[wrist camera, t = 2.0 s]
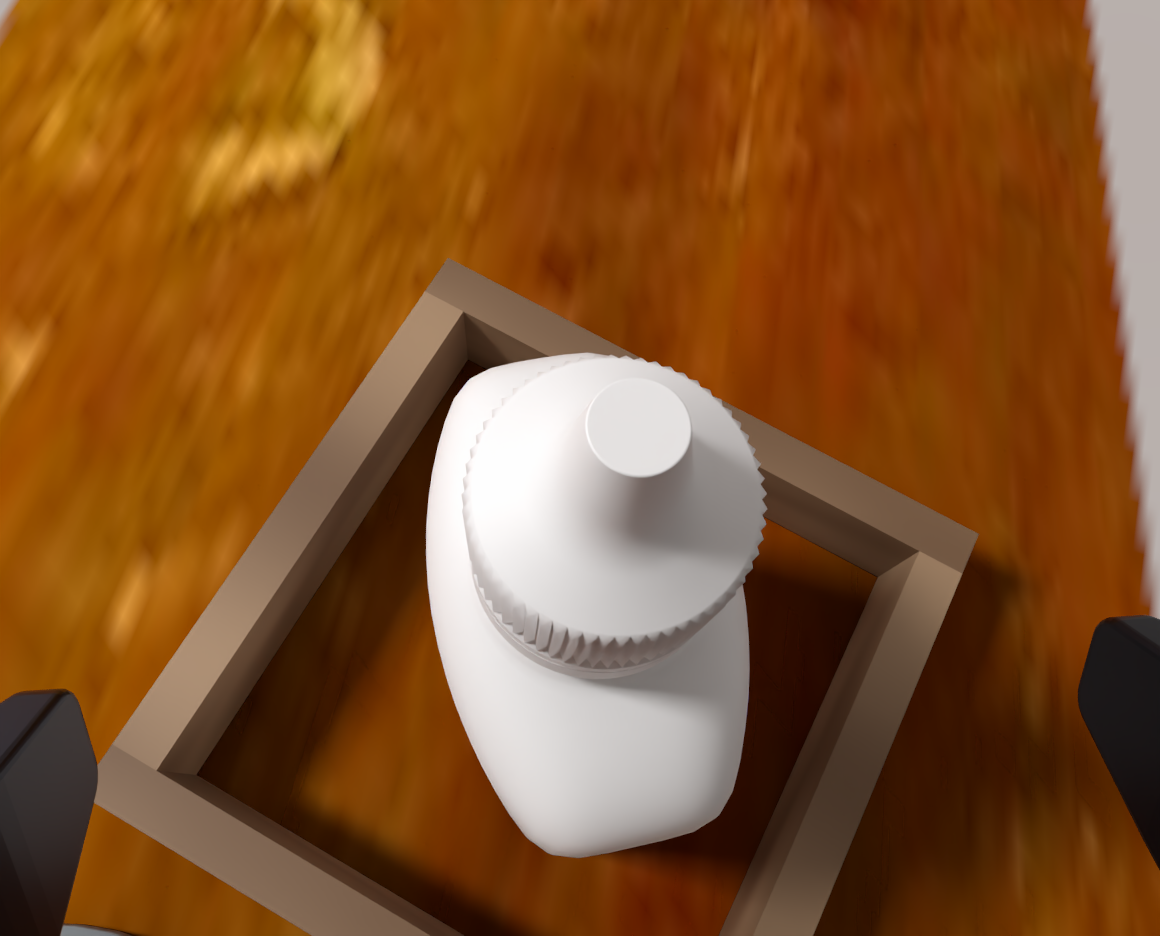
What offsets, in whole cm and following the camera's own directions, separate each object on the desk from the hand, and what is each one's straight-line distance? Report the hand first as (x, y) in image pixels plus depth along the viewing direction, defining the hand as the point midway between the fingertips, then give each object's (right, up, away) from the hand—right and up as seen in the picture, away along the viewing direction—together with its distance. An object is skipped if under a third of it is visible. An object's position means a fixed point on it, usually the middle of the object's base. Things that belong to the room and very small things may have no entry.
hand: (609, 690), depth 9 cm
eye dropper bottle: (-1, -2, +9) cm, 9 cm away
